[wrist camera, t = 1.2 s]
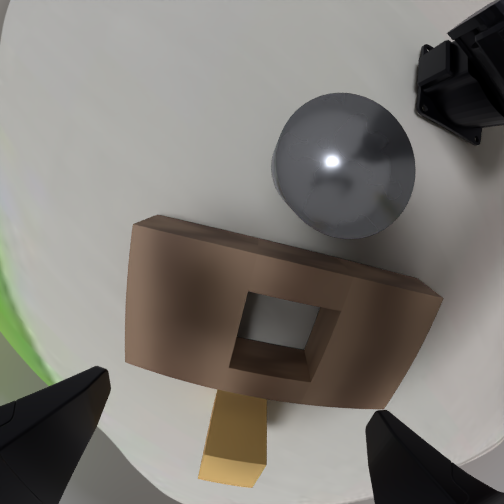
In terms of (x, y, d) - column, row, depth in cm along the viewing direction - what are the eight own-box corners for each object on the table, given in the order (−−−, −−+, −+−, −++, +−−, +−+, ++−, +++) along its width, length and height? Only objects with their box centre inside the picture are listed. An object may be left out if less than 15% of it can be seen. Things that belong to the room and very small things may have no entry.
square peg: (266, 391, 22) (266, 464, 15) (255, 420, 23) (252, 487, 16) (219, 381, 22) (203, 454, 15) (212, 411, 23) (197, 478, 16)
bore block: (417, 278, 19) (443, 298, 15) (370, 379, 22) (383, 409, 18) (157, 214, 19) (132, 224, 15) (144, 334, 21) (125, 362, 18)
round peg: (373, 139, 17) (425, 123, 10) (351, 227, 19) (394, 254, 12) (283, 111, 17) (294, 75, 10) (261, 203, 18) (259, 218, 12)
